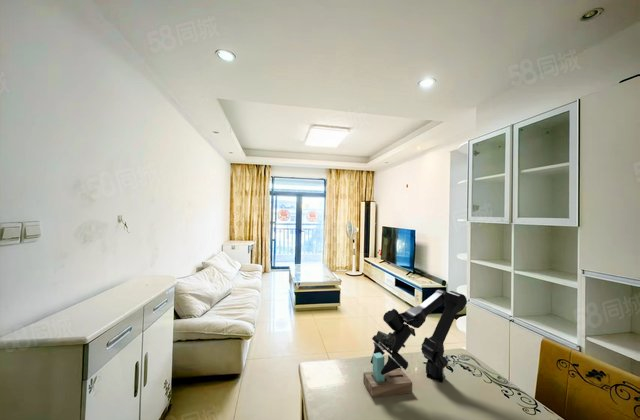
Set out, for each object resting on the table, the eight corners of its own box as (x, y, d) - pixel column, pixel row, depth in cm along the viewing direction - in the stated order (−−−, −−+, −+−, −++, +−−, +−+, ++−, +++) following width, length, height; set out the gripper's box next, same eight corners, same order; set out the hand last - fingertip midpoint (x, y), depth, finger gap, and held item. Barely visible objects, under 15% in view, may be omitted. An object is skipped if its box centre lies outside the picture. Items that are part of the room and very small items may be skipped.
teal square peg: (380, 384, 100) (379, 352, 101) (384, 390, 97) (384, 356, 98) (373, 386, 99) (372, 353, 100) (377, 391, 96) (376, 358, 97)
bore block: (412, 392, 96) (412, 382, 96) (371, 397, 93) (372, 386, 93) (400, 378, 105) (400, 368, 105) (363, 382, 101) (363, 372, 102)
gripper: (375, 316, 109) (353, 344, 105) (401, 334, 92) (376, 369, 88) (390, 332, 111) (369, 360, 107) (418, 352, 94) (394, 387, 90)
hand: (376, 368), depth 98 cm, fingers open, 7 cm apart
